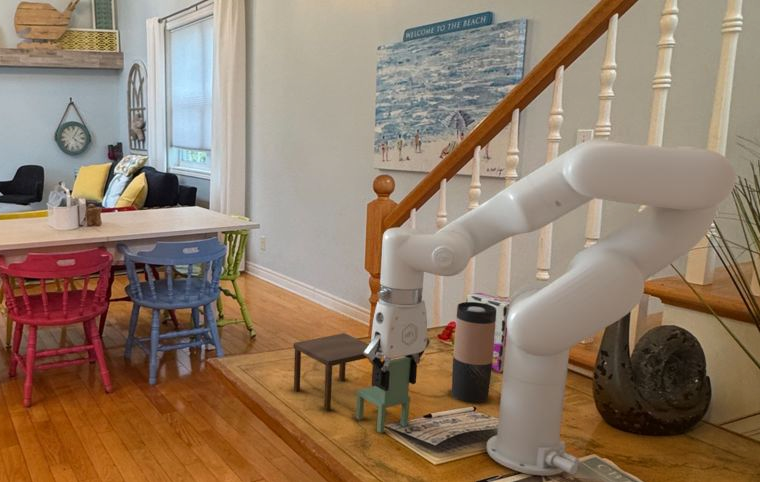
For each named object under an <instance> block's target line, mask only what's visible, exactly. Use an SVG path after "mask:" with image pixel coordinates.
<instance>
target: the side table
mask: <svg viewBox="0 0 760 482" xmlns="http://www.w3.org/2000/svg"><path fill="white" fill-rule="evenodd" d="M369 344H370V343H367V342H365V341H363V340H360V339H358V338H356V337H354V336H352V335H349V334H347V333H346V332H345V333H344V332H342V333H337V334H332V335H327V336H323V337H316V338H312V339H308V340H307V339H306V340H301V341H297V342H294V343H293V349H294V366H293V367H294V368H293V374H294V375H293V391H294V392H296V393H297V392H300V391H301V370H302V369H301V365H302V363H301V362H302V354H304V355H305V356H307V357H309V358H312V359H313V360H315V361H317V362H318V363H321V364H323V365H324V366H325V368H324V369H325V370H324V397H323V398H324V399H323V401H324V402H323V409H324V411H326V412H328V411H331V410H332V388H333V386H332V385H333V366H338V365H339V366H338V367H339V370H338V380H339V381H340V382H343V381H345V380H346V364H347V363H351V362H357V361H360V360H365V359H367V358H366V356H365V355H364V354H363V353H364V351H365V349H366V348H367V347H368V345H369ZM375 355H376V352H375ZM371 369H372V370H371V371H372V372H371V387H372V386H375V384H374V382H375V367H374V366H373V365H372V368H371Z"/></svg>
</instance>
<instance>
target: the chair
mask: <svg viewBox="0 0 760 482" xmlns="http://www.w3.org/2000/svg"><path fill="white" fill-rule="evenodd" d="M410 360H411V359H410V358H408V357H405V356H403V357H398V358H393V359H391V360H390V363H389V366H388V369H387V370H388V371H390V378H389V390H388V391H384V390H382V389H380V388H378V387H376V386H372V385H371V386H368V387H365V388H360V389H357V390H356V393H355V394H356V408H355V419H357V420H359V421H361V420H363V419H364V406H365V401H367V402H368V403H370V404H372V405H373V406H376V407H377V424H376V431H377V432H378V433H379V434H382V433H385V427H386V414H387V408H391V407H395V406H399V405H401V409H400V410H401V411H400V425H401V426H402V427H407V426H408V425H409V416H410V415H409V412H410V402H411V396H409V388H410V383H409V375H410Z"/></svg>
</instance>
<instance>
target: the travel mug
mask: <svg viewBox="0 0 760 482" xmlns="http://www.w3.org/2000/svg"><path fill="white" fill-rule="evenodd" d="M495 323H496V308H495V307H493V306H491V305H488V304H484V303H477V302H466V301H464V302H460V303H458V304H457V309H456V318H455V330H454V331H455V332H454V340H453V341H454V342H453V354H452V373H451V374H452V375H451V376H452V377H451V395H452V396H453V397H454V398H455V399H457V400H459V401H462V402H465V403H470V404H481V403H482V404H483V403H485V402H487V401H488V399H489V392H490V385H491V379H492V378H491V377H492V371H493V369H492V361H493V349H494V336H495Z"/></svg>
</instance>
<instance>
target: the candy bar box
mask: <svg viewBox="0 0 760 482" xmlns="http://www.w3.org/2000/svg"><path fill="white" fill-rule="evenodd" d="M465 302H477V303H484V304H488V305H491V306H493V307H495V308H496V323H495V336H494V349H493V361H492V371H495V372H498V373H503V369H504V358H505V347H506V337H507V315H508V307H509V303H510V300H509V299H504V298H501V297H497V296H493V295H489V294H486V293H482V292H476V293H470V294H467V295H466V300H465Z"/></svg>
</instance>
